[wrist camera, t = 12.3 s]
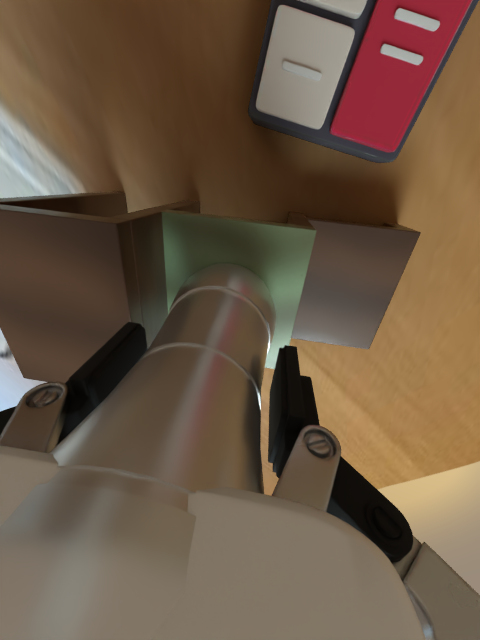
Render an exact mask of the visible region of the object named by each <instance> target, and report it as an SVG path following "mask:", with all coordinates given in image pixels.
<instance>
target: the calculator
mask: <svg viewBox="0 0 480 640" xmlns="http://www.w3.org/2000/svg"><path fill="white" fill-rule="evenodd" d="M478 1H479V0H271V5H270V9H269V14H268V19H267V23H266V28H265V33H264V37H263V42H262V47H261V51H260V56H259V61H258V65H257V70H256V75H255V80H254V84H253V89H252V94H251V98H250V103H249V108H248V113H249V116H250V118H251V120H252V121H253V122H254V123H255V124H257V125H259V126H262V127H266V128H269V129H272V130H275V131H278V132H281V133H284V134H287V135H291V136H294V137H297V138H300V139H303V140H306V141H309V142H312V143H316V144H319V145H322V146H325V147H328V148H331V149H334V150H337V151H341V152H344V153H347V154H350V155H353V156H356V157H359V158H362V159H366V160H369V161H372V162H376V163H386V162H392V161H394V160H395V159H396V158H397V156H398V154H399V153H400V151H401V149H402V147H403V145H404V143H405V141H406V139H407V137H408V135H409V133H410V131H411V130H412V128H413V126H414V124H415V122H416V120H417V118H418V116H419V114H420V112H421V110H422V108H423V106H424V105H425V103H426V101H427V99H428V97H429V95H430V93H431V91H432V89H433V87H434V85H435V83H436V81H437V79H438V78H439V76H440V74H441V72H442V70H443V68H444V66H445V64H446V62H447V60H448V58H449V56H450V54H451V53H452V51H453V49H454V47H455V45H456V43H457V41H458V39H459V37H460V35H461V33H462V31H463V29H464V28H465V26H466V24H467V22H468V20H469V18H470V16H471V14H472V12H473V10H474V8H475V6H476V4H477V3H478Z"/></svg>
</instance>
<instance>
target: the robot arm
mask: <svg viewBox="0 0 480 640" xmlns="http://www.w3.org/2000/svg"><path fill="white" fill-rule="evenodd" d="M147 350H148V349H147V340H146V332H145V328H144V327H142V325H141V324H140V323H134V322H127V323H126V324H125V325H124V326H123V327H122V328H121V329H120V330H119V331H118V332H117V333H116V334H115V335H114V336H113V337H111V338H110V339H109V340H108V341H107V342H106V343H105V344H104V345H103V346H102V347H101V348H100V349H99V350H98V351H97V352H96V353H95V354H94V355H93V356H92V357H90V358H89V359H88V360H87V361H86V362H85V363H84V364H83V365H82V366H81V367H80V368H79V369H78V370H77V371H76V372H75V373H74V374H73V375H72V376H71V377H69V380H68V381H67V382H66V383H65V384H64V383H62V382H47V383H43V384H41V385H38V386H36V387H34V388H32V389H30V390H29V391H28V392H27V393H25V394H24V396H23V397H22V398H21V400H20V402H19V403H18V405H17V406H15V407H12V408H10V409H7V410H4V411H1V412H0V526H1V525H2V524H3V523H4V522H5V521H6V520H7V519H8V517H9V516H10V515H11V514H12V513H13V512H14V511H15V509H16V508H17V507H18V506H19V505H20V504H21V502H22V501H23V500H24V499H25V498H26V497H27V495H28V494H29V493H30V492H31V491H32V490H33V488H34V487H35V486H36V485H39V484H47V483H48V482H49V481H50V480H51V479H52V478H53V477H54V476H55V475H56V474H57V473H58V472H59V471H60V470H61V469H62V468H59V467H56V466H57V465H59V464H58V462H57V460H56V459H55V458H54V457H53V454H49V453H50V452H51V451H52V450H53V449H54V448H55V447H56V446H57V445H58V444H59V443H60V442H61V441H63V440H64V439H65V438H66V437H67V436H68V435H69V434H70V433H71V432H72V431H73V430H74V429H75V428H76V427H77V426H78V425H79V424H80V423H81V422H82V421H83V420H84V419H85V418H86V417H87V416H88V415H89V414H90V413H91V412H92V411H93V410H94V409H95V408H96V407H97V406H98V405H99V404H101V403H102V402H103V401H104V400H105V399H106V398H107V397H108V395H109V394H110V393H111V392H112V391H113V390H114V388H115V387H116V386H117V385H118V384H119V383H120V381H121V380H122V379H123V378H124V377H125V376H126V374H127V373H128V372H129V371H130V370H131V369H132V368H133V366H134V365H135V364H136V363H137V361H138V360H139V359H140V358H141V357H142V356H143V354H144V353H145V352H146V351H147ZM268 462H270V463H273V472H276V476H277V477H278V478H279V480H278V482H277V485H276V487H275V489H274V491H273V494H272V496H269V495H264V494H260V493H255V492H250V491H246V490H241V489H236V488H230V487H221V488H214V489H203V490H196V493H189V494H188V513H190V514H192V515H194V516H196V522H195V527H194V533H193V538H192V543H191V549H190V554H189V561H188V569H187V577H186V587H185V593H184V594H183V595H182V597H181V598H180V599H179V601H178V602H177V603H176V604H175V606H174V607H173V608H172V610H171V611H170V612H169V614H168V615H167V616H166V618H165V619H164V621H163V622H162V623H161V625H160V626H159V627H158V629H157V630H156V631H155V633H154V634H153V635H152V637H151V638H150V639H149V640H480V595H479V594H478V593H477V592H476V591H475V590H474V589H472V588H471V586H470V585H469V584H467V583H466V582H465V581H464V580H463V579H462V578H461V577H460V576H459V575H458V574H457V573H456V572H455V571H454V570H453V569H452V568H451V567H450V566H449V565H448V564H447V563H446V562H445V561H444V560H443V559H442V558H441V557H440V556H439V555H438V554H436V552H435V551H433V550H432V549H431V548H430V547H429V546H428V545H427V544H426V543H425V542H424V543H422V544H421V543H420V542H419V541H418V540H417V539H416V538H415V537H414V536H413V535H412V531H411V529H410V526H409V524H408V522H407V520H406V519H405V517H404V516H403V514H402V513H401V512H400V511H399V510H398V509H397V508H396V507H395V506H394V505H393V504H392V503H391V502H390V501H389V500H388V499H387V498H386V497H385V496H383V495H382V494H381V493H380V492H379V491H378V490H377V489H376V488H375V487H374V486H373V485H371V484H370V483H369V482H368V481H367V480H366V479H365V478H364V477H363V476H362V475H361V474H360V473H358V472H357V471H356V470H355V469H354V468H353V467H352V466H351V465H350V464H349V463H348V462H347V461H345V460H344V459H343V458H342V457H341V446H340V443H339V441H338V439H337V438H336V436H335V435H334V434H333V433H332V432H331V431H329V430H328V429H326V428H324V427H322V426H320V425H319V419H318V414H317V408H316V403H315V397H314V392H313V386H312V381H311V378H310V377H307V376H300V370H299V362H298V354H297V347H294V346H288V345H284V348H281V347H280V348H279V352H278V356H277V361H276V366H275V370H274V375H273V380H272V384H271V389H270V406H269V446H268Z"/></svg>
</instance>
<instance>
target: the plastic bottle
mask: <svg viewBox="0 0 480 640" xmlns="http://www.w3.org/2000/svg"><path fill="white" fill-rule="evenodd" d="M275 327H276V311H275V305H274V303H273V300H272V297H271V295H270V292H269V290H268V288H267V287H266V285H265V284H264V282H263V281H262V280H261V279H260V278H259V277H258V276H257V275H256V274H255V273H253V272H252V271H250V270H249V269H247V268H244V267H242V266H240V265H235V264H230V263H220V264H215V265H211V266H208V267H206V268H204V269H202V270H200V271H198V272H196V273H194V274H193V275H192V276H190V277H189V278H188V279H187V280H186V281H185V282H184V283H183V284H182V286H181V287H180V289H179V291H178V293H177V295H176V297H175V299H174V301H173V303H172V305H171V307H170V310H169V313H168V317H167V318H166V320H165V322H164V323H163V325H162V327H161V329H160V330H159V332H158V334H157V335H156V337H155V339H154V341H153V342H152V344H151V346H150V347H149V349H148V350H147V351H146V352H145V353H144V354H143V356H142V357H141V358H140V359H139V360H138V361H137V363H136V364H135V365H134V366H133V368H132V369H131V370H130V371H129V372H128V373H127V374H126V376H125V377H124V378H123V379H122V380H121V381H120V383H119V384H118V385H117V386H116V387H115V388H114V390H113V391H112V392H111V393H110V394H109V395H108V397H107V398H106V399H105V400H104V401H103V402H102V403H101V404H99V405H98V406H97V407H96V408H95V409H94V410H93V411H92V412H91V413H90V414H89V415H88V416H87V417H86V418H85V419H84V420H83V421H82V422H81V423H80V424H79V425H78V426H77V427H76V428H75V429H74V430H73V431H72V432H71V433H70V434H69V435H68V436H67V437H66V438H65V439H64V440H63V441H61V442H60V443H59V444H58V445H57V446H56V447H55V448H54V449H53V450H52V451H51V452H50V453H49V454H53V457H54V458H55V459H56V460H57V462H58V464H59V465H57V466H56V467H59V468H62V469H61V470H60V471H59V472H58V473H57V474H56V475H55V476H54V477H53V478H52V479H51V480H50V481H49V482H48V483H47V484H39V485H36V486H35V487H34V488H33V490H32V491H31V492H30V493H29V494H28V495H27V497H26V498H25V499H24V500H23V501H22V502H21V504H20V505H19V506H18V507H17V508H16V509H15V511H14V512H13V513H12V514H11V515H10V516H9V517H8V519H7V520H6V521H5V522H4V523H3V524H2V525H1V526H0V640H149V639H150V638H151V637H152V635H153V634H154V633H155V631H156V630H157V629H158V627H159V626H160V625H161V623H162V622H163V621H164V619H165V618H166V616H167V615H168V614H169V612H170V611H171V610H172V608H173V607H174V606H175V604H176V603H177V602H178V601H179V599H180V598H181V597H182V595H183V594H184V593H185V587H186V577H187V569H188V561H189V554H190V549H191V543H192V538H193V533H194V527H195V522H196V516H194V515H192V514H190V513H188V494H189V493H196V490H203V489H214V488H221V487H230V488H236V489H241V490H246V491H250V492H255V493H260V494H264V486H263V474H262V463H261V451H260V424H261V410H260V409H261V385H262V380H263V374H264V369H265V363H266V357H267V353H268V351H269V349H270V346H271V343H272V339H273V335H274V331H275Z"/></svg>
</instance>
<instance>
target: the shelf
mask: <svg viewBox="0 0 480 640" xmlns="http://www.w3.org/2000/svg"><path fill="white" fill-rule="evenodd" d="M419 236H420V232H418V231H416V230H413V229H410V228H407V227H404V226H401V225H399V224H391V223H384V226H378V225H369V224H360V223H352V222H343V221H335V220H326V219H318V218H309V217H305V216H304V215H303V214H302V213H296V212H289V216H288V221H287V224H285V223H276V222H268V221H259V220H251V219H243V218H234V217H226V216H217V215H209V214H200V202H199V201H192V200H187V201H182V202H177V203H173V204H168V205H163V206H159V207H154V208H148V209H144V210H140V211H135V212H131V213H127V205H126V197H125V193H123V192H114V191H113V192H97V193H80V194H64V195H48V196H32V197H16V198H0V328H1V330H2V332H3V335H4V337H5V339H6V341H7V343H8V345H9V347H10V350H11V352H12V354H13V356H14V358H15V360H16V362H17V364H18V367H19V369H20V371H21V373H22V375H23V377H24V378H27V379H33V380H39V381H45V382H62V383H64V384H65V383H66V382H67V381H68V380H69V377H71V376H72V375H73V374H74V373H75V372H76V371H77V370H78V369H79V368H80V367H81V366H82V365H83V364H84V363H85V362H86V361H87V360H88V359H89V358H90V357H92V356H93V355H94V354H95V353H96V352H97V351H98V350H99V349H100V348H101V347H102V346H103V345H104V344H105V343H106V342H107V341H108V340H109V339H110V338H111V337H113V336H114V335H115V334H116V333H117V332H118V331H119V330H120V329H121V328H122V327H123V326H124V325H125V324H126V323H127V322H134V323H140V324H141V325H142V327H144V328H145V332H146V340H147V349H149V347H150V346H151V344H152V342H153V341H154V339H155V337H156V335H157V334H158V332H159V330H160V329H161V327H162V325H163V323H164V322H165V320H166V318H167V317H168V313H169V310H170V307H171V305H172V303H173V301H174V299H175V297H176V295H177V293H178V291H179V289H180V287H181V286H182V284H183V283H184V282H185V281H186V280H187V279H188V278H189V277H190V276H192V275H193V274H194V273H196V272H198V271H200V270H202V269H204V268H206V267H208V266H211V265H215V264H220V263H230V264H235V265H240V266H242V267H244V268H247V269H249V270H250V271H252V272H253V273H255V274H256V275H257V276H258V277H259V278H260V279H261V280H262V281H263V282H264V284H265V285H266V287H267V288H268V290H269V292H270V295H271V297H272V300H273V303H274V305H275V311H276V327H275V331H274V335H273V339H272V343H271V346H270V349H269V351H268V353H267V357H266V363H265V368H272V369H275V366H276V361H277V356H278V352H279V348H280V347H281V348H284V345H288V346H289V344H290V340H291V338H294V339H301V340H308V341H315V342H321V343H328V344H335V345H342V346H349V347H355V348H362V349H369V348H370V345H371V343H372V341H373V339H374V336H375V334H376V332H377V330H378V328H379V325H380V323H381V321H382V319H383V316H384V314H385V312H386V310H387V307H388V305H389V303H390V301H391V298H392V296H393V294H394V292H395V289H396V287H397V285H398V283H399V280H400V278H401V276H402V274H403V271H404V269H405V267H406V265H407V262H408V260H409V258H410V256H411V253H412V251H413V249H414V247H415V245H416V242H417V240H418V238H419Z"/></svg>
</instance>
